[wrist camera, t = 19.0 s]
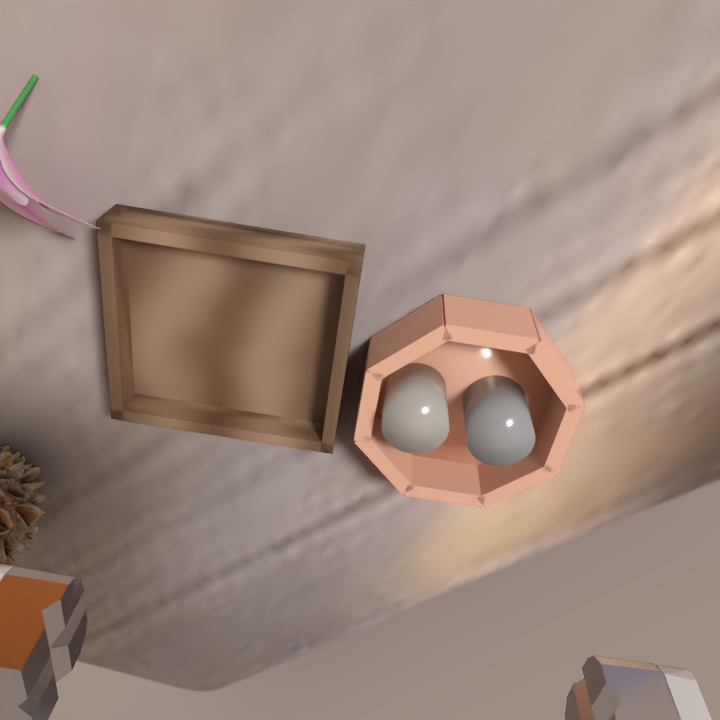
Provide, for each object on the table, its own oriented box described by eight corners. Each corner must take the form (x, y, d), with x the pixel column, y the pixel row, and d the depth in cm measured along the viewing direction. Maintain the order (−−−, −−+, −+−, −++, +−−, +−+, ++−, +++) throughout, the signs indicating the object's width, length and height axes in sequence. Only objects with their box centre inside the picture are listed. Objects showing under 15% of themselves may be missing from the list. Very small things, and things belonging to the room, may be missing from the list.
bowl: (592, 318, 39) (608, 350, 36) (531, 478, 46) (540, 517, 43) (379, 283, 39) (376, 313, 36) (350, 449, 46) (345, 486, 43)
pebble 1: (453, 369, 41) (457, 407, 38) (437, 418, 43) (440, 458, 40) (390, 357, 41) (388, 394, 37) (378, 407, 43) (375, 447, 40)
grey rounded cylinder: (532, 379, 41) (543, 417, 38) (517, 429, 43) (526, 470, 40) (469, 371, 41) (474, 408, 38) (457, 421, 43) (460, 461, 40)
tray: (365, 244, 38) (362, 263, 35) (336, 427, 45) (332, 453, 43) (116, 204, 38) (96, 220, 35) (127, 394, 45) (111, 418, 42)
